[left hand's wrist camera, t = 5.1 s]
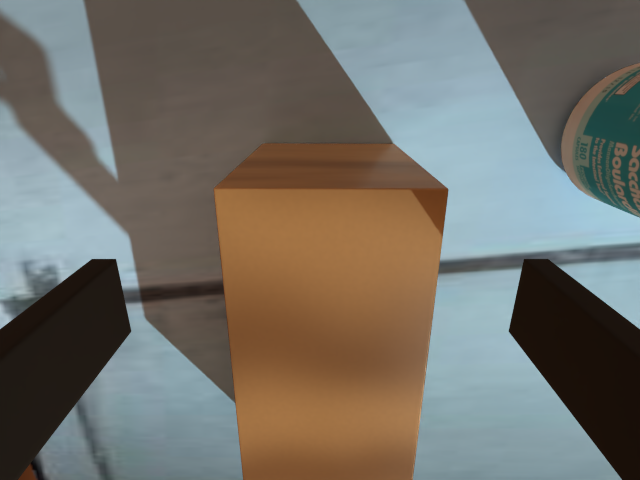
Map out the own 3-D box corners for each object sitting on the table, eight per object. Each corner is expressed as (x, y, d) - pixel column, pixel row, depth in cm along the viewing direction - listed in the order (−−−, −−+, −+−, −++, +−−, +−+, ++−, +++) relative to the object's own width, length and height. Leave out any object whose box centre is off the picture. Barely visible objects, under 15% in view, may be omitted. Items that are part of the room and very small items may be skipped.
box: (262, 143, 23) (212, 187, 13) (394, 143, 22) (449, 188, 13) (278, 444, 31) (256, 610, 21) (373, 445, 31) (396, 613, 21)
